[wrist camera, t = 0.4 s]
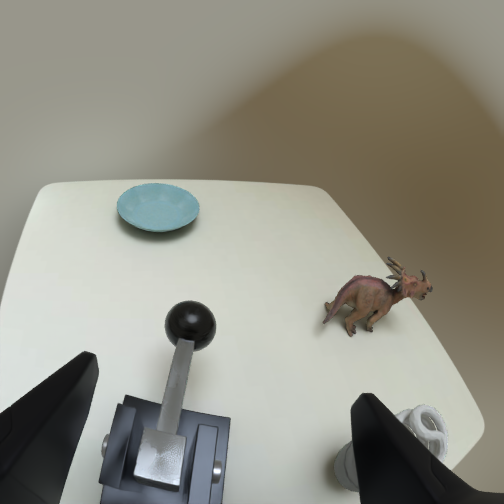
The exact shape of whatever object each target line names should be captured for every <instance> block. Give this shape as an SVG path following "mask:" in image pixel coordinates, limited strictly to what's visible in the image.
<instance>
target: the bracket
mask: <svg viewBox="0 0 504 504" xmlns="http://www.w3.org/2000/svg"><path fill="white" fill-rule="evenodd" d="M161 406H162V404H159V403H155V402H151V401H147V400H143V399H140V398H136V397H133V396H129V395H125V398H124V401H123V404H119V403H118V405H117V408H116V412H115V415H114V419H113V423H112V427H111V431H110V434H107V435H106V436H105V438H104V440H103V444H102V450H101V452H102V457H104V459H103V464H102V468H101V473H100V478H99V483H100V484H103V490H102V495H101V501H100V504H222V498H223V488H224V478H225V468H226V458H227V449H228V439H229V429H230V420H231V418H229V417H222V416H216V415H210V414H205V413H199V412H194V411H189V410H185V409H182V410H181V416H180V421H179V427H178V432H177V435H180V436H185V437H187V442H186V448H185V455H184V461H183V468H182V475H181V482H180V488H179V492H173V491H168V490H163V489H159V488H155V487H150V486H146V485H143V484H139V483H137V481H136V479H135V477H134V476H133V471H134V467H135V462H136V458H137V453H138V449H139V445H140V441H141V436H142V432H143V428H144V427H147V428H151V429H154V430H156V427H157V423H158V418H159V414H160V410H161Z"/></svg>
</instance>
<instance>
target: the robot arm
mask: <svg viewBox="0 0 504 504" xmlns="http://www.w3.org/2000/svg"><path fill="white" fill-rule="evenodd" d="M98 376H99V368H98V363H97V357H96V355H95V354H93V353H90V352H87V351H84V352H82V353H80V354H79V355H78V356H76V357H75V358H74V359H72V360H71V361H70V362H68V363H67V364H65V365H64V366H63V367H61V368H60V369H59V370H57V371H56V372H55V373H53V374H52V375H51V376H49V377H48V378H47V379H45V380H44V381H43V382H41V383H40V384H39V385H37V386H36V387H35V388H33V389H32V390H31V391H29V392H28V393H27V394H25V395H24V396H23V397H21V398H20V399H19V400H17V401H16V402H15V403H13V404H12V405H11V407H8V408H7V409H5V410H4V411H3V412H1V413H0V504H59V503H60V499H61V496H62V492H63V489H64V485H65V482H66V479H67V475H68V472H69V469H70V466H71V463H72V460H73V457H74V454H75V451H76V448H77V445H78V442H79V439H80V436H81V434H82V431H83V428H84V425H85V423H86V420H87V417H88V414H89V410H90V406H91V402H92V398H93V394H94V391H95V387H96V383H97V380H98ZM351 428H352V445H353V453H354V459H355V466H356V472H357V479H358V487H359V494H360V502H361V504H504V493H492V492H482V491H478V490H476V489H474V488H472V487H471V486H469V485H468V484H467V483H465V482H464V481H463V480H462V479H461V478H459V477H458V476H457V475H455V474H454V473H453V472H452V471H451V470H449V469H448V468H447V467H446V466H445V465H444V464H443V463H442V462H441V461H440V460H439V459H438V458H436V457H435V456H434V455H433V454H432V453H431V452H430V451H429V450H428V449H427V448H426V447H425V446H424V445H423V444H422V443H421V442H420V441H419V440H418V439H417V438H416V437H415V436H414V435H413V434H412V433H411V432H410V431H409V430H408V429H407V428H406V427H405V425H404V424H403V423H402V422H401V421H400V420H399V419H398V418H397V417H396V416H395V415H394V414H393V413H392V412H391V411H390V410H389V409H388V408H387V407H386V406H385V405H384V404H383V403H382V402H381V401H380V400H379V399H378V398H377V397H376V396H375V395H374V394H372V393H362V394H361V395H360V396H359V397H358V399H357V400H356V401H355V403H354V404H353V405H352V407H351Z"/></svg>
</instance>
